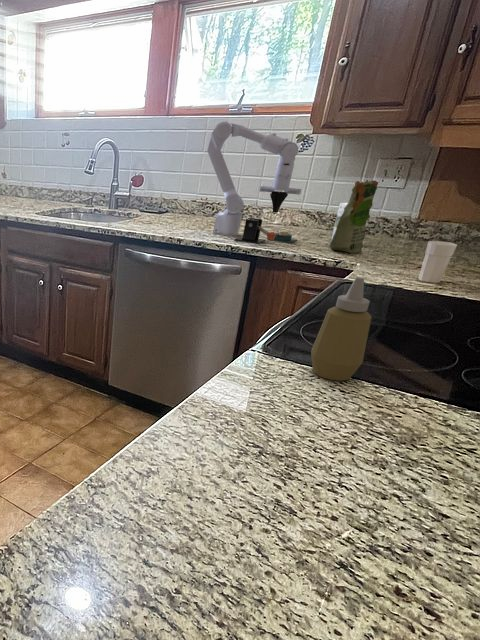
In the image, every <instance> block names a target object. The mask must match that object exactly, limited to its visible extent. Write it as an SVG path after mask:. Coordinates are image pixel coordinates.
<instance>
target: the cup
mask: <svg viewBox="0 0 480 640" xmlns="http://www.w3.org/2000/svg"><path fill="white" fill-rule="evenodd" d="M457 246H458V244H457V243H453V242H449V241H442V240H441V241H440V240H429V241H427V245H426V248H425V251H424V252H425V254H424V257H423V260H422V264H421V268H420V271H419V275H418V278H417V280H419V281H421V282H425V283H432V284H433V283H434V284H438V283H441V281H442V278H443V277H444V274H445V272H446V270H447V268H448V266H449V263H450V262H451V258H452V257H453V255H454V253H455V251H456V249H457Z"/></svg>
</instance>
